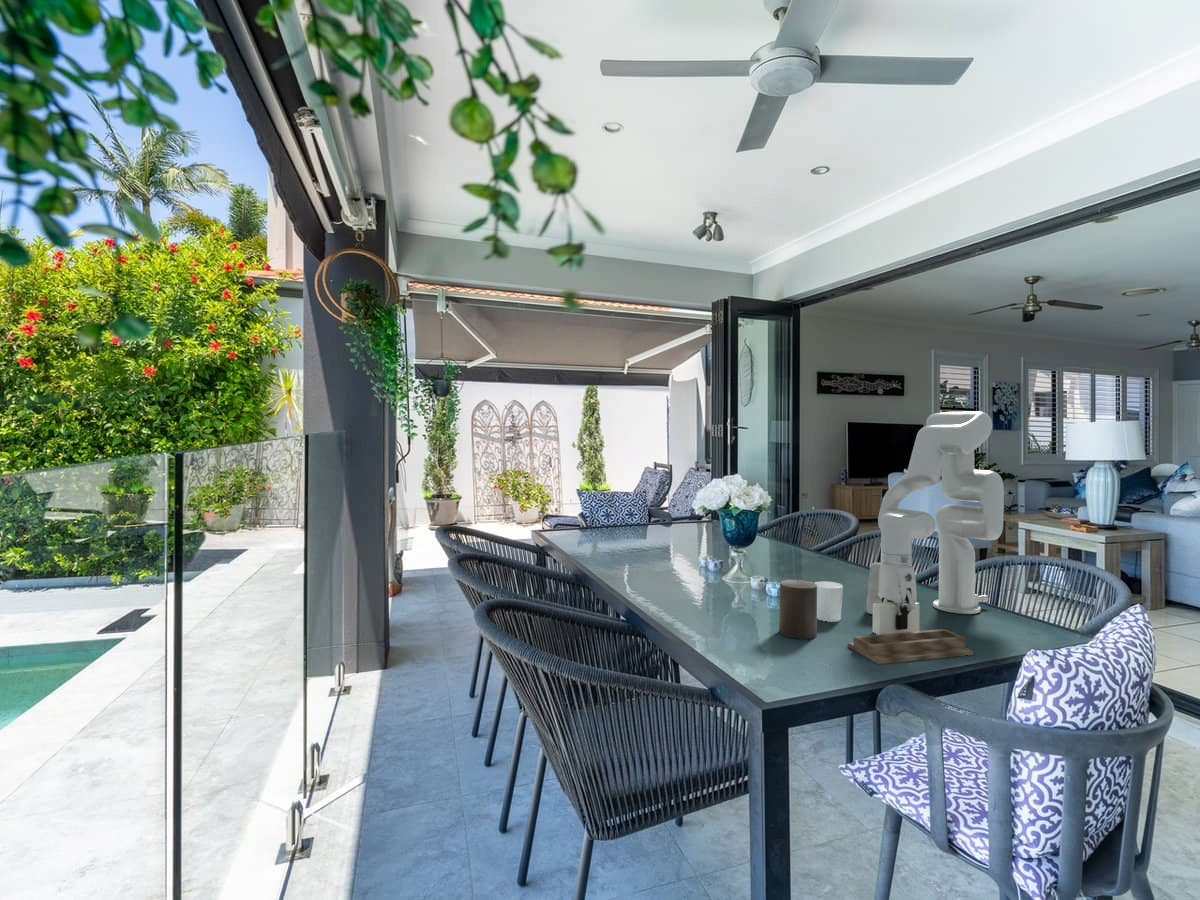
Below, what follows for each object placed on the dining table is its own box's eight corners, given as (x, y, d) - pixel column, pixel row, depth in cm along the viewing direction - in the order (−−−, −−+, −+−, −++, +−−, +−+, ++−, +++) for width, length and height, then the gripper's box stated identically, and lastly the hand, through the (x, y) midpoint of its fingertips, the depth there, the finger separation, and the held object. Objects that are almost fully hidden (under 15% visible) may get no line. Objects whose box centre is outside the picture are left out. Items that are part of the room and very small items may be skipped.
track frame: (937, 638, 163) (937, 625, 162) (973, 655, 151) (973, 641, 151) (847, 646, 157) (847, 633, 157) (877, 664, 146) (877, 649, 146)
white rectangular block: (911, 629, 171) (911, 600, 170) (919, 632, 168) (919, 603, 167) (872, 632, 168) (872, 603, 168) (879, 636, 165) (879, 606, 165)
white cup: (845, 623, 176) (845, 588, 176) (815, 622, 178) (815, 587, 177) (840, 615, 184) (840, 581, 183) (812, 614, 185) (812, 580, 185)
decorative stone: (905, 612, 185) (905, 563, 185) (908, 618, 180) (908, 567, 179) (865, 609, 189) (865, 560, 188) (867, 615, 183) (867, 565, 183)
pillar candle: (798, 642, 161) (798, 584, 161) (771, 631, 170) (772, 576, 169) (824, 636, 166) (825, 580, 165) (797, 626, 174) (798, 573, 174)
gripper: (930, 565, 160) (930, 635, 161) (888, 552, 176) (888, 616, 177) (904, 566, 158) (904, 637, 159) (864, 553, 175) (864, 618, 175)
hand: (895, 625), depth 168 cm, fingers open, 3 cm apart
